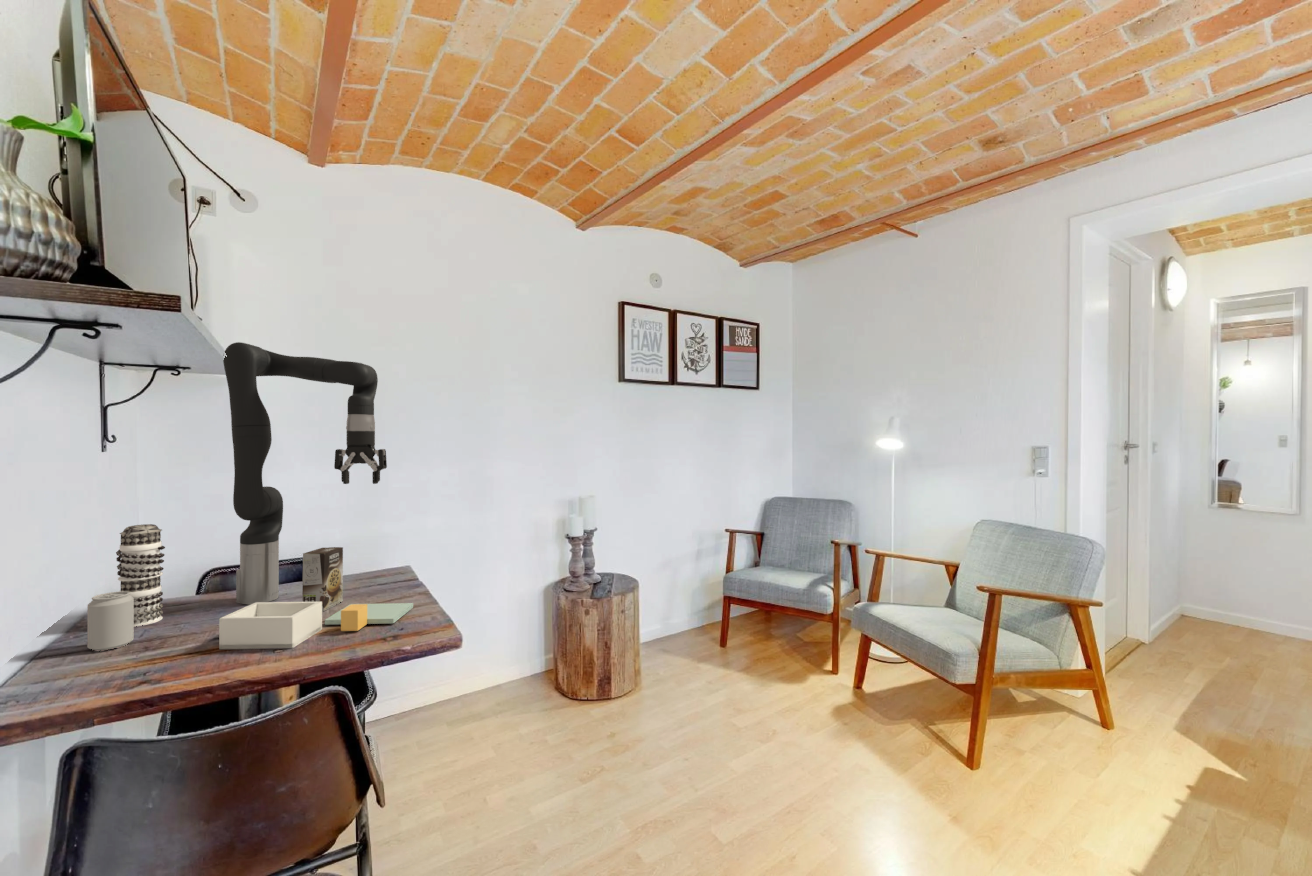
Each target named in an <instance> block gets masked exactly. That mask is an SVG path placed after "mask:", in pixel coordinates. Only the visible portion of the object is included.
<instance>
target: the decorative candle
mask: <svg viewBox="0 0 1312 876" xmlns="http://www.w3.org/2000/svg"><path fill="white" fill-rule="evenodd" d="M162 531H163V529H161V528H159V526H158V525H156V524H151V523H150V524H148V523H147V524H136V525H130V526H127V527H125V528H124V529H123V531H122V532H121V531H120V532H119V534H120V544H119V549H118V550H117V551H116V552H115V553H116V556H117V557H116V558H115V559H116V562H118V563H119V564H117V566H116V568H117V570H118V571H117V574H116V575H117V576H119V577H117V580H118V581H119V582H120V590H119V592H120V591H127V592H130V594H129V595H130V596H131V597H133V598H134V628H136V626H137V627H142V625H143V626H146V625H151V624H155V623H158V622H160V621H162V620H163V618H164V617H163V616H162V615H163V613H164V611H163V607H164V605H163V603H161V602H163V600H164V598H163V597H162V596H163V595H164V594H163V591H162V585H161V580H162V579H161V576H163V575H164V573H163V570H164V567H163V566H161V564H163V563H164V562H165V560H164V559H163V557H164V556H165V553H162V552H161V551H163V550H165V549H166V546H164V545H162V544H163V543H162V540H161V538H162V537H161V536H162V535H161V532H162Z"/></svg>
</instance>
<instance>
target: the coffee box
mask: <svg viewBox="0 0 1312 876" xmlns="http://www.w3.org/2000/svg"><path fill="white" fill-rule="evenodd" d="M343 561H344V547H341V546H337V547H336V546H331V547H330V546H329V547H319V548H316V549H314V550H310V551H307V552H303V553H302V597H301V598H302V599H301V600H302V601H301V602H322V612H325V611H327V610H330V609H332V608H333V607H335V606H337V605H339V604H341V603H343V602H342V601H343V598H344V592H343V591H344V589H343V588H344V587H343V585H344V584H343V583H344V581H343V580H344V576H343V574H344V570H343V569H344V562H343ZM340 602H341V603H340ZM336 604H337V605H336Z"/></svg>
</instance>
